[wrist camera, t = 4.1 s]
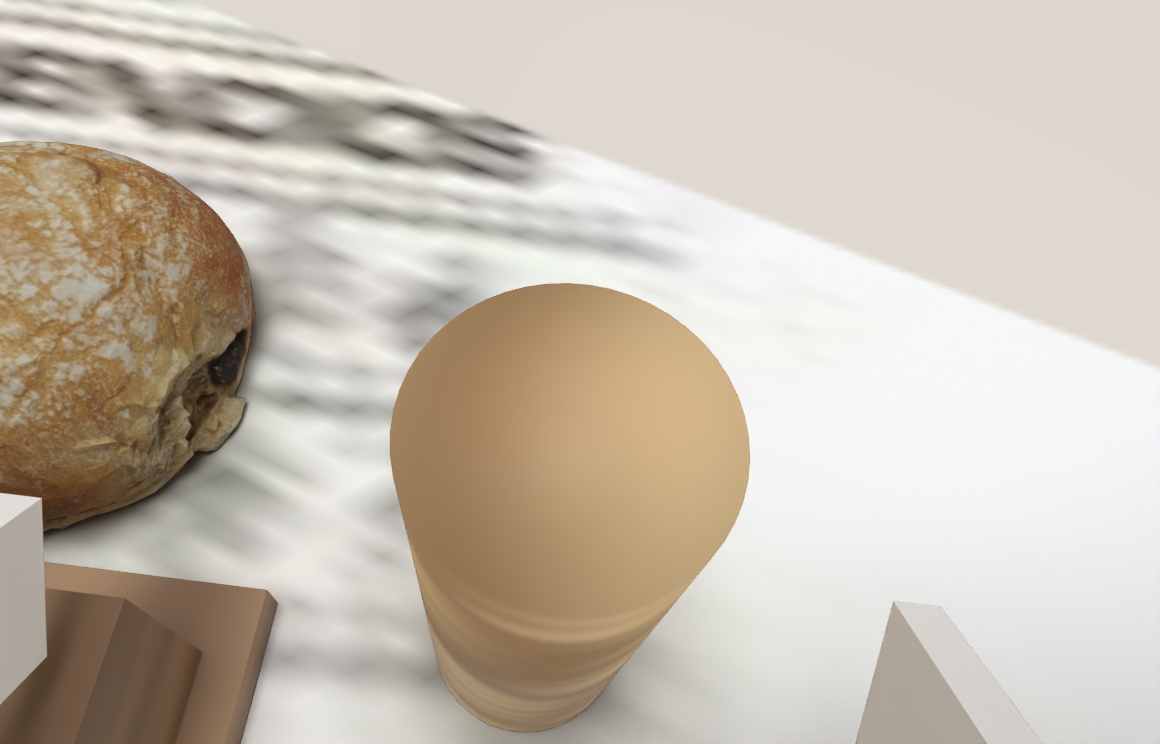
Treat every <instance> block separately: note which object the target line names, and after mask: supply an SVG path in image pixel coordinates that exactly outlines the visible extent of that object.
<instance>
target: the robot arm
mask: <svg viewBox="0 0 1160 744" xmlns="http://www.w3.org/2000/svg"><path fill="white" fill-rule="evenodd" d="M46 657H47V642H46V612H45V582H44V551H43V521H42V498H38V497H30V496H21V495H13V494H5V493H0V704H1V703H2V702H3V701H4V700H5V699H6V698H7V697H8V696H9V695H10V694H11V693H12V692H13V691H14V690H15V689H16V688H17V687H18V686H19V685H20V684H21V683H22V682H23V681H24V680H25V679H26V678H27V677H28V675H29V674H30V673H31V672H32V671H33V670H34V669H35V668H36V667H37V666H38V665H39V664H40V663H41V662H42V661H43V660H44V659H45V658H46ZM856 744H1043V743H1042V742H1041V740H1040V739H1039V738H1038V736H1037V735H1036V734H1035V732H1034V731H1033V730H1032V728H1031V727H1030V726H1029V724H1028V723H1027V721H1026V720H1025V719H1024V717H1023V716H1022V715H1021V713H1020V712H1019V711H1018V709H1017V708H1016V707H1015V705H1014V704H1013V703H1012V701H1011V700H1010V699H1009V697H1008V696H1007V695H1006V693H1005V692H1004V691H1003V689H1002V688H1001V687H1000V685H999V684H998V683H997V681H996V680H995V679H994V677H993V676H992V675H991V673H990V672H989V671H988V669H987V668H986V666H985V665H984V664H983V662H982V661H981V660H980V658H979V657H978V656H977V654H976V653H975V652H974V650H973V649H972V648H971V646H970V645H969V644H968V642H967V641H966V640H965V638H964V637H963V636H962V634H961V633H960V632H959V630H958V629H957V628H956V626H955V625H954V624H953V622H952V621H951V620H950V618H949V617H948V615H947V614H946V613H945V611H944V610H943V609H942V607H939V606H931V605H923V604H915V603H906V602H898V601H893V605H892V608H891V612H890V616H889V620H888V623H887V627H886V631H885V635H884V638H883V642H882V646H881V650H880V653H879V657H878V661H877V665H876V669H875V672H874V676H873V680H872V684H871V687H870V691H869V695H868V699H867V702H866V706H865V710H864V714H863V717H862V721H861V725H860V729H859V733H858V736H857V740H856Z"/></svg>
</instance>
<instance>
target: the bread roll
mask: <svg viewBox="0 0 1160 744" xmlns="http://www.w3.org/2000/svg"><path fill="white" fill-rule="evenodd" d="M255 315H256V314H255V310H254V305H253V300H252V285H251V280H250V273H249V267H248V263H247V260H246V258H245V256H244V253H243V251H242V249H241V248H240V246H239V244H238V243H237V241H236V239H235V237H234V236H233V234H232V233H231V231H230V230H229V229H228V227H227V226H226V225H225V223H224V222H223V221H222V219H221V218H220V217H219V215H218V214H217V213H216V212H215V211H214V210H213V209H212V208H211V207H210V206H208V205H207V204H206V203H205V202H204V201H203V200H201V199H200V198H199V197H198V196H197V195H195V194H194V193H192V192H191V191H190V190H188V189H187V188H185V187H184V186H183V185H181V184H180V183H179V182H177V181H176V180H175V179H174V178H173V177H171V176H169V175H166V174H164V173H161V172H159V171H157V170H155V169H153V168H151V167H149V166H147V165H146V164H144V163H142V162H140V161H138V160H135V159H132V158H129V157H127V156H123V155H120V154H116V153H113V152H109V151H106V150H102V149H97V148H93V147H87V146H81V145H74V144H66V143H60V142H36V141H11V142H2V143H0V493H5V494H13V495H21V496H30V497H38V498H42V521H43V531H46V530H48V529H51V528H64V529H65V528H66V527H68V526H69V525H70V524H73V523H75V522H78V521H81V520H83V519H86V518H89V517H91V516H94V515H98V514H103V513H107V512H110V511H113V510H115V509H118V508H121V507H124V506H127V505H129V504H131V503H133V502H136V501H138V500H140V499H142V498H144V497H146V496H148V495H150V494H153V493H155V492H156V491H157V490H158V489H159V488H161V487H162V486H163V485H164V484H165V483H166V482H168V481H169V480H170V479H171V478H172V477H173V476H174V475H175V474H176V473H177V472H178V471H179V470H180V469H181V468H183V467H184V465H185V463H186V462H187V461H188V460H189V459H190V458H191V457H192V456H194V454H193V452H195V451H206V452H208V451H212V450H217V449H218V448H219V447H220V446H221V445H222V444H223V443H224V441H225V440H226V439H227V438H228V436H229V435H230V433H231V432H232V431H233V430H234V429H235V428H236V426H237V425H238V424H239V421H240V419H241V416H242V412H243V409H244V405H245V402H246V398H242V397H237V396H235V390H236V388H237V386H238V384H239V382H240V380H241V377H242V373H243V369H244V364H245V360H246V356H247V352H248V348H249V344H250V334H251V325H252V322H253V320H254V317H255Z"/></svg>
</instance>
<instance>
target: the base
mask: <svg viewBox="0 0 1160 744" xmlns="http://www.w3.org/2000/svg"><path fill="white" fill-rule="evenodd" d="M44 582H45V612H46V642H47V657H46V658H45V659H44V660H43V661H42V662H41V663H40V664H39V665H38V666H37V667H36V668H35V669H34V670H33V671H32V672H31V673H30V674H29V675H28V677H27V678H26V679H25V680H24V681H23V682H22V683H21V684H20V685H19V686H18V687H17V688H16V689H15V690H14V691H13V692H12V693H11V694H10V695H9V696H8V697H7V698H6V699H5V700H4V701H3V702H2V703H1V704H0V744H240V743H241V739H242V735H243V732H244V728H245V724H246V720H247V717H248V713H249V709H250V705H251V701H252V698H253V694H254V690H255V686H256V683H257V679H258V675H259V671H260V667H261V664H262V660H263V656H264V652H265V649H266V645H267V641H268V637H269V634H270V630H271V626H272V622H273V618H274V615H275V611H276V607H277V601H276V600H275V599H274V598H273V597H272V595H271V594H270V593H269V592H268V591H267V590H263V589H255V588H247V587H239V586H231V585H223V584H215V583H207V582H199V581H191V580H183V579H175V578H167V577H159V576H152V575H144V574H136V573H128V572H120V571H112V570H104V569H96V568H88V567H80V566H72V565H64V564H56V563H48V562H44Z"/></svg>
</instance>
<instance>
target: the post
mask: <svg viewBox="0 0 1160 744" xmlns="http://www.w3.org/2000/svg"><path fill="white" fill-rule="evenodd" d="M390 458H391V465H392V472H393V478H394V482H395V487H396V491H397V495H398V499H399V503H400V507H401V512H402V516H403V520H404V524H405V528H406V533H407V537H408V541H409V545H410V549H411V553H412V558H413V562H414V566H415V570H416V574H417V578H418V583H419V587H420V591H421V595H422V599H423V603H424V608H425V612H426V616H427V620H428V624H429V628H430V633H431V637H432V641H433V645H434V649H435V653H436V658H437V661H438V665H439V668H440V672H441V674H442V676H443V679H444V681H445V683H446V685H447V687H448V688H449V690H450V691H451V693H452V695H453V696H454V697H455V698H456V699H457V701H458V702H459V703H460V704H461V705H462V706H463V707H464V708H465V709H466V710H467V711H468V712H470V713H471V714H472V715H474V716H475V717H477V718H478V719H480V720H482V721H483V722H485V723H487V724H489V725H492V726H495V727H497V728H500V729H504V730H509V731H514V732H535V731H542V730H547V729H551V728H554V727H557V726H559V725H562V724H564V723H566V722H568V721H570V720H571V719H573V718H575V717H576V716H578V715H579V714H580V713H582V712H583V711H584V710H585V709H586V708H587V707H588V706H589V705H590V704H591V703H593V702H594V700H595V699H596V698H597V697H598V695H599V694H600V693H601V692H602V691H603V689H604V688H605V687H606V686H607V685H608V683H609V682H610V681H611V680H612V678H613V677H614V676H615V675H616V674H617V672H618V671H619V670H620V669H621V668H622V666H623V665H624V664H625V663H626V661H627V660H628V659H629V658H630V657H631V655H632V654H633V653H634V652H635V651H636V649H637V648H638V647H639V646H640V644H641V643H642V642H643V641H644V640H645V638H646V637H647V636H648V635H649V634H650V632H651V631H652V630H653V629H654V627H655V626H656V625H657V624H658V623H659V621H660V620H661V619H662V618H663V617H664V615H665V614H666V613H667V612H668V610H669V609H670V608H671V607H672V606H673V604H674V603H675V602H676V601H677V599H678V598H679V597H680V596H681V595H682V593H683V592H684V591H685V590H686V589H687V587H688V586H689V585H690V584H691V582H692V581H693V580H694V579H695V578H696V576H697V575H698V574H699V573H700V572H701V570H702V569H703V568H704V567H705V565H706V564H707V563H708V562H709V561H710V559H711V558H712V557H713V555H714V554H715V553H716V552H717V550H718V549H719V548H720V546H721V545H722V544H723V543H724V541H725V539H726V538H727V536H728V534H729V532H730V531H731V529H732V527H733V525H734V523H735V522H736V519H737V516H738V514H739V511H740V509H741V506H742V503H743V501H744V496H745V492H746V488H747V483H748V477H749V465H750V449H749V435H748V430H747V425H746V420H745V415H744V412H743V409H742V407H741V404H740V401H739V398H738V395H737V393H736V391H735V389H734V387H733V385H732V383H731V381H730V379H729V377H728V375H727V374H726V372H725V371H724V369H723V367H722V366H721V364H720V363H719V361H718V360H717V358H716V357H715V356H714V355H713V354H712V353H711V351H710V350H709V349H708V348H707V347H706V345H705V344H704V343H703V342H702V341H701V340H700V339H699V338H698V337H697V336H696V335H695V334H693V333H692V332H691V331H690V330H689V329H688V328H687V327H686V326H684V325H683V324H682V323H680V322H679V321H677V320H676V319H675V318H673V317H672V316H671V315H669V314H667V313H666V312H664V311H662V310H660V309H659V308H657V307H655V306H654V305H652V304H650V303H647V302H645V301H643V300H641V299H638V298H636V297H634V296H631V295H628V294H625V293H622V292H618V291H615V290H612V289H607V288H602V287H597V286H592V285H583V284H571V283H560V284H543V285H535V286H528V287H523V288H519V289H515V290H512V291H508V292H504V293H502V294H499V295H497V296H494V297H491V298H489V299H486V300H484V301H482V302H480V303H478V304H477V305H475V306H473V307H471V308H469V309H467V310H466V311H464V312H463V313H461V314H460V315H458V316H457V317H456V318H454V319H453V320H451V321H450V322H449V323H448V324H446V325H445V326H444V327H443V328H442V329H441V330H440V331H439V332H438V333H437V334H435V335H434V336H433V337H432V339H431V340H430V341H429V342H428V343H427V345H426V346H425V347H424V348H423V349H422V350H421V352H420V353H419V355H418V356H417V358H416V359H415V361H414V362H413V364H412V365H411V367H410V369H409V370H408V372H407V374H406V377H405V379H404V381H403V383H402V385H401V388H400V390H399V393H398V396H397V400H396V403H395V406H394V410H393V416H392V423H391V429H390Z"/></svg>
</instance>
